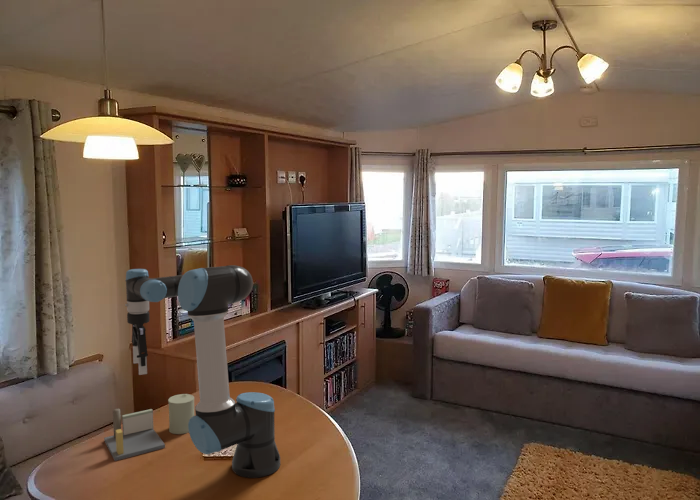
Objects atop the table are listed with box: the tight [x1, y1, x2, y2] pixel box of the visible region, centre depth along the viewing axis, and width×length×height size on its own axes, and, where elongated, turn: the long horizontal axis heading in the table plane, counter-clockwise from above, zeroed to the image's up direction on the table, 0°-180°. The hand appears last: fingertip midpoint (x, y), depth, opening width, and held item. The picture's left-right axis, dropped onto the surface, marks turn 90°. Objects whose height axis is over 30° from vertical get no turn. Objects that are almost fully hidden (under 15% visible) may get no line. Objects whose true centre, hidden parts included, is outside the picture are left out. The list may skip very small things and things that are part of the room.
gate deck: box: [103, 408, 166, 462], centre depth 184 cm, size 17×16×11 cm
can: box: [167, 393, 195, 435], centre depth 197 cm, size 9×9×12 cm
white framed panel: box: [121, 408, 154, 435], centre depth 191 cm, size 10×2×7 cm, turn 125°
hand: (140, 368), depth 197 cm, fingers open, 13 cm apart
